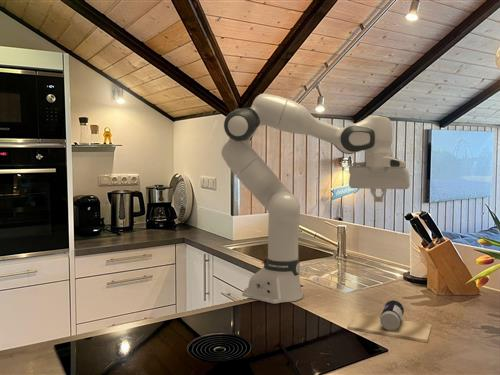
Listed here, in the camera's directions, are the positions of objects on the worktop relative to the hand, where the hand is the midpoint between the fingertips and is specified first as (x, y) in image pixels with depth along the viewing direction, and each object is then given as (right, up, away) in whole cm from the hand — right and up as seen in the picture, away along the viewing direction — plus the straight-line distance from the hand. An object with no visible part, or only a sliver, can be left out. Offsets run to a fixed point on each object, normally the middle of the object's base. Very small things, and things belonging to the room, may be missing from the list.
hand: (378, 201), depth 150 cm
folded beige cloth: (-4, -37, -23) cm, 43 cm away
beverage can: (0, -33, -16) cm, 36 cm away
